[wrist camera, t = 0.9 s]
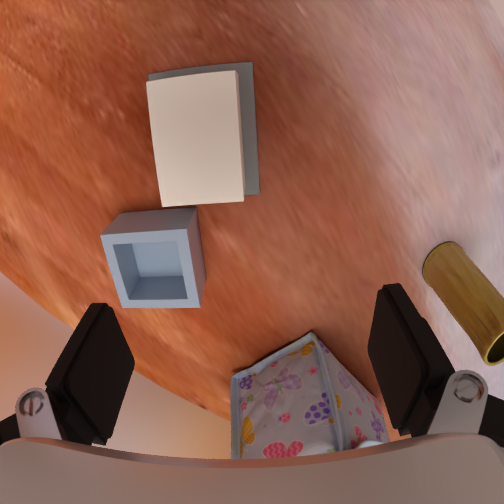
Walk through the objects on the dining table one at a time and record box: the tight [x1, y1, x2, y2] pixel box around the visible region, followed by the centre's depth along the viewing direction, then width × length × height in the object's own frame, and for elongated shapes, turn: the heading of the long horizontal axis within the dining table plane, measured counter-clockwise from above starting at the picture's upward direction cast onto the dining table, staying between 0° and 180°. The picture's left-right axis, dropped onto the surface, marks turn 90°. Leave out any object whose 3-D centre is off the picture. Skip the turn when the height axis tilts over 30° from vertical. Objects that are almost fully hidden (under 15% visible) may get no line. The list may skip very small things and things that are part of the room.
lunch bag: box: [230, 332, 390, 459], centre depth 31 cm, size 22×17×26 cm
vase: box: [423, 242, 504, 366], centre depth 26 cm, size 6×6×14 cm
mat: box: [148, 62, 260, 195], centre depth 26 cm, size 12×9×1 cm
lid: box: [146, 70, 245, 207], centre depth 24 cm, size 10×6×4 cm, turn 3°
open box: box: [100, 207, 207, 308], centre depth 30 cm, size 8×8×5 cm
